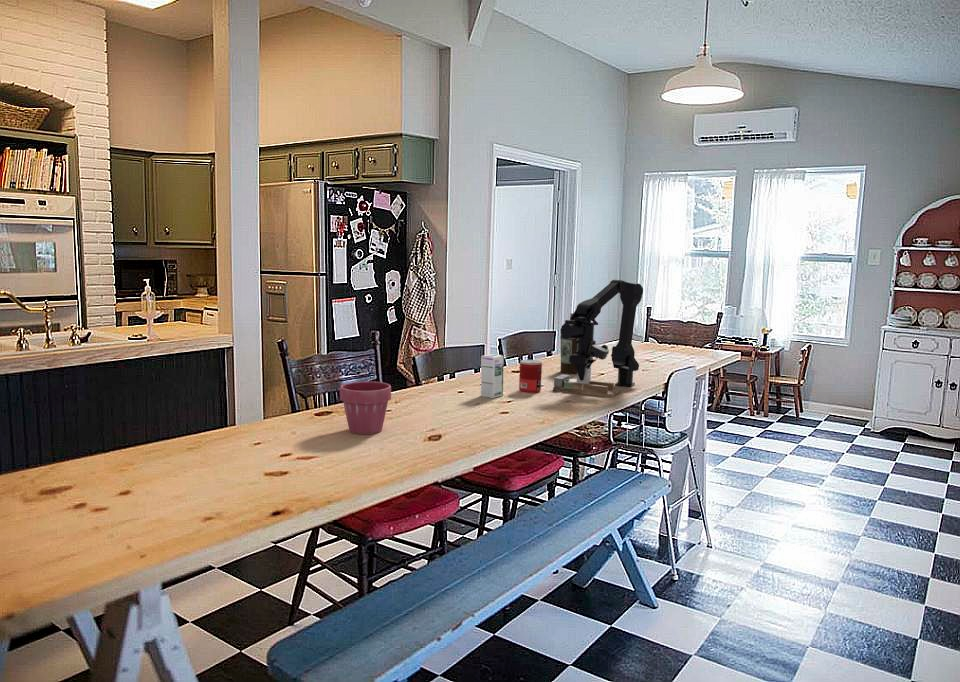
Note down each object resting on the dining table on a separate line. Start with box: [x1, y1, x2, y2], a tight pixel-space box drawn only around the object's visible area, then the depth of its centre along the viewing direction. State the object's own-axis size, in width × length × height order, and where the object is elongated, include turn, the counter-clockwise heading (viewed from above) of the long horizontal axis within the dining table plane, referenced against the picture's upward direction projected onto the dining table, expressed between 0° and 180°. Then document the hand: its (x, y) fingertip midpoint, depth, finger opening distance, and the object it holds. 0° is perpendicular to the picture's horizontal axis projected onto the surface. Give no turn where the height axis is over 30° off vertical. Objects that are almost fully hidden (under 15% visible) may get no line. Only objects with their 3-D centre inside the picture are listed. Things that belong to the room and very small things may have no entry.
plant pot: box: [339, 381, 392, 435], centre depth 200 cm, size 14×14×13 cm
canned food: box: [518, 359, 543, 394], centre depth 262 cm, size 8×8×11 cm
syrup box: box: [480, 353, 504, 399], centre depth 251 cm, size 6×6×14 cm
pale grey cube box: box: [564, 367, 592, 384], centre depth 264 cm, size 7×8×7 cm
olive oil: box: [559, 312, 578, 375], centre depth 303 cm, size 11×11×25 cm
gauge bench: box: [552, 373, 620, 398], centre depth 264 cm, size 11×22×4 cm, turn 64°
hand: (583, 379), depth 264 cm, fingers closed on pale grey cube box, 4 cm apart
